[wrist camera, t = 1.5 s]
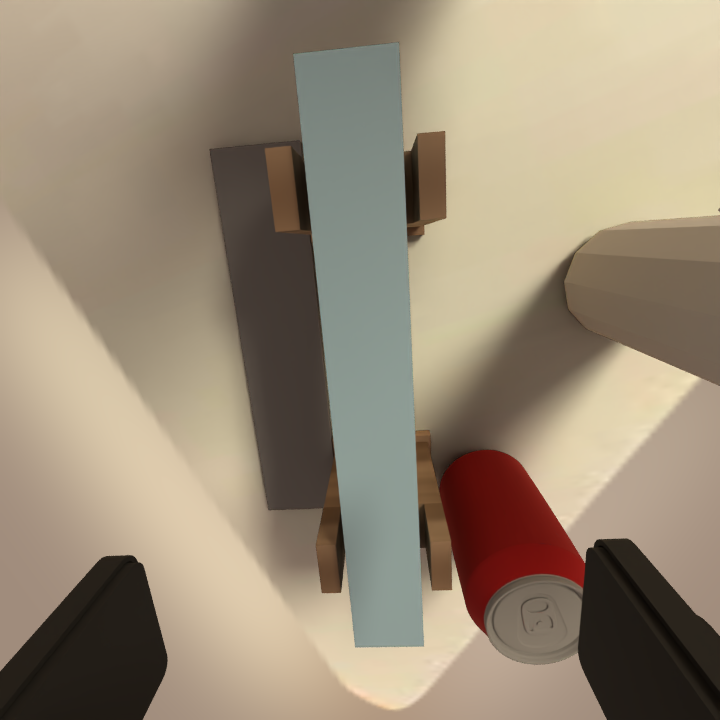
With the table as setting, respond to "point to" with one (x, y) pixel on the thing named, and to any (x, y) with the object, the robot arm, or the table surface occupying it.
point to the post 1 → (420, 186)
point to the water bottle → (654, 290)
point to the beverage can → (512, 558)
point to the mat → (276, 331)
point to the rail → (366, 325)
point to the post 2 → (430, 526)
